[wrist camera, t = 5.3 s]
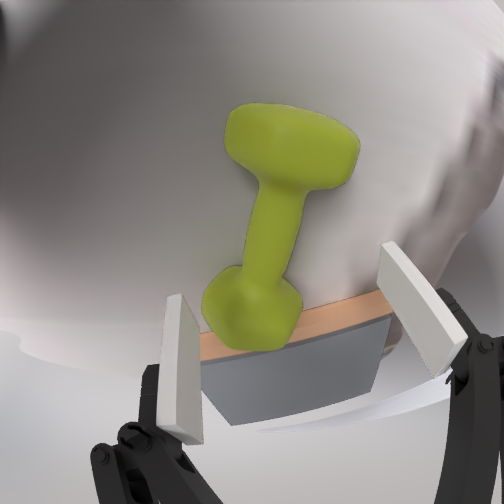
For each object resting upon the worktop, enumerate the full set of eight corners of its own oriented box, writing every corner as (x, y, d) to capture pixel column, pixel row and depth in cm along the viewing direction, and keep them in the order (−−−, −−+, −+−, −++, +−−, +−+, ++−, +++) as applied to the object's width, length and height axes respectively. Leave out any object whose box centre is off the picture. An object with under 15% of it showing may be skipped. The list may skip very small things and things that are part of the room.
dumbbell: (229, 93, 16) (236, 95, 10) (341, 119, 17) (398, 141, 11) (199, 290, 24) (197, 356, 18) (284, 297, 26) (302, 359, 20)
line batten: (171, 338, 27) (170, 353, 26) (392, 285, 27) (400, 297, 25) (178, 349, 28) (177, 364, 27) (389, 298, 28) (397, 310, 26)
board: (185, 359, 30) (184, 367, 29) (387, 310, 29) (391, 317, 28) (230, 419, 41) (231, 425, 40) (368, 386, 40) (370, 391, 39)
